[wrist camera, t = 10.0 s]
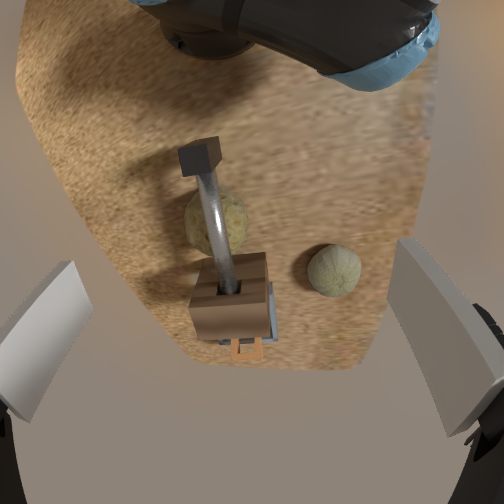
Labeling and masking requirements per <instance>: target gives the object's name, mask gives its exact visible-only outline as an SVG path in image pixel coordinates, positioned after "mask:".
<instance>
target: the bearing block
mask: <svg viewBox="0 0 504 504" xmlns="http://www.w3.org/2000/svg"><path fill="white" fill-rule="evenodd" d="M232 260H233V265H234V270H235V275H236V280H237V285H238V290H239V294H231V295H222V294H221V290H220V285H219V281H218V277H217V273H216V268H215V264H214V260H213V258H205V260H204V263H203V266H202V269H201V272H200V275H199V277H198V280H197V283H196V286H195V289H194V292H193V295H192V298H191V301H190V304H189V307H188V309H189V312H190V315H191V318H192V321H193V324H194V327H195V329H196V332H197V335H198V338H199V340H222V339H241V338H256V337H269V336H270V297H269V277H268V269H267V262H266V254H265V252H262V253H252V254H242V255H232Z"/></svg>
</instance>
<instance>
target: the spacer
mask: <svg viewBox="0 0 504 504" xmlns="http://www.w3.org/2000/svg"><path fill="white" fill-rule="evenodd" d="M231 351H232V361H233V360H253V359H263V349H262V337H256V338H255V353H240V344H239V339H231Z"/></svg>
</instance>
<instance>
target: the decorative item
mask: <svg viewBox="0 0 504 504" xmlns="http://www.w3.org/2000/svg"><path fill="white" fill-rule="evenodd" d="M219 190H220V196H221V201H222V207H223V212H224V217H225V223H226V228H227V234H228V239H229V244H230V249H231V254H232V255H233V253H235V252H237V251H238V250H239V248H240V247H241V245H242V243H244V241H245V239H246V235H247V229H248V216H247V212H246V208H245V205H244V203H243V201H242V200H240V199H239V198H238V197H237V196H236V194H235V193H233V192H232V191H231V190H230V189H227V187H226V186H223V185H219ZM184 226H185V232H186V237H187V239H188V241H189V243H191V245H192V246H193V247H194V248H196V249H198V250H199V251H200V252H202V253H204V254H207V255H208V256H213V255H212V251H211V246H210V242H209V237H208V233H207V228H206V224H205V219H204V214H203V210H202V205H201V200H200V195H199V191H198V192H196V193H195V194H194V195H193V198H192V199H191V200H190V201H189V202H188V205H187V207H186V208H185V213H184Z"/></svg>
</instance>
